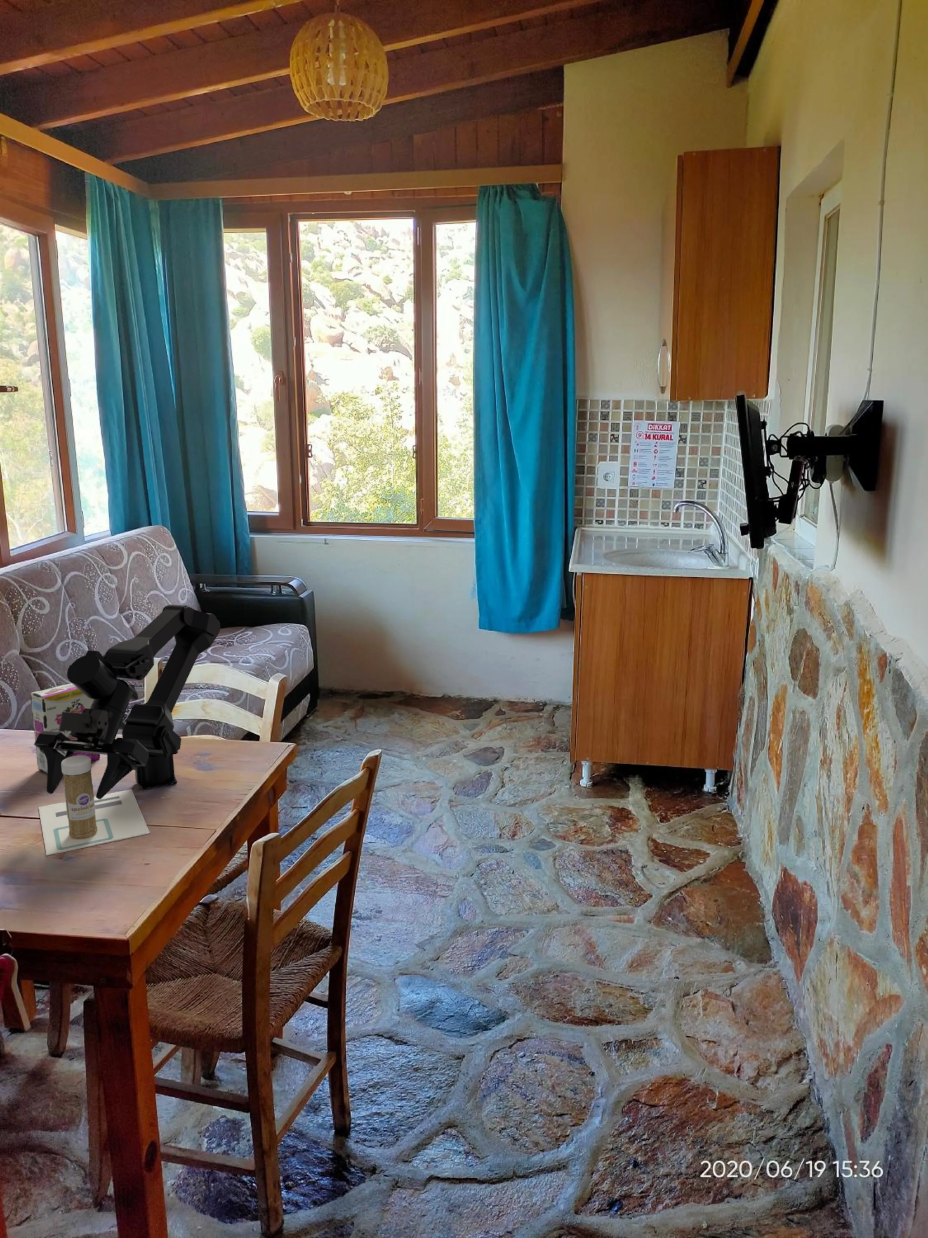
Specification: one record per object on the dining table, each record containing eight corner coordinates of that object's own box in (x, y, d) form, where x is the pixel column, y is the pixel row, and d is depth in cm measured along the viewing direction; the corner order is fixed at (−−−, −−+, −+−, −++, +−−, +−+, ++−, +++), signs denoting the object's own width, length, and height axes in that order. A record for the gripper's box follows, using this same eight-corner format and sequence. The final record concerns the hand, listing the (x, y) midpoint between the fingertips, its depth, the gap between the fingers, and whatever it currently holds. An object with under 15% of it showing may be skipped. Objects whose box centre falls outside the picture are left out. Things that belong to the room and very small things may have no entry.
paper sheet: (131, 790, 165) (131, 789, 165) (149, 833, 148) (149, 832, 148) (38, 807, 158) (38, 806, 158) (46, 855, 141) (46, 854, 141)
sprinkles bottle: (79, 842, 145) (70, 767, 142) (63, 835, 147) (55, 760, 144) (103, 831, 148) (96, 758, 145) (88, 824, 151) (80, 752, 148)
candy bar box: (50, 776, 171) (41, 697, 168) (37, 770, 174) (28, 692, 170) (102, 759, 180) (95, 683, 176) (88, 753, 183) (81, 679, 179)
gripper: (35, 686, 148) (-4, 772, 140) (133, 694, 144) (99, 783, 136) (69, 715, 157) (34, 797, 149) (163, 723, 153) (132, 807, 145)
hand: (73, 795), depth 145 cm, fingers open, 9 cm apart
